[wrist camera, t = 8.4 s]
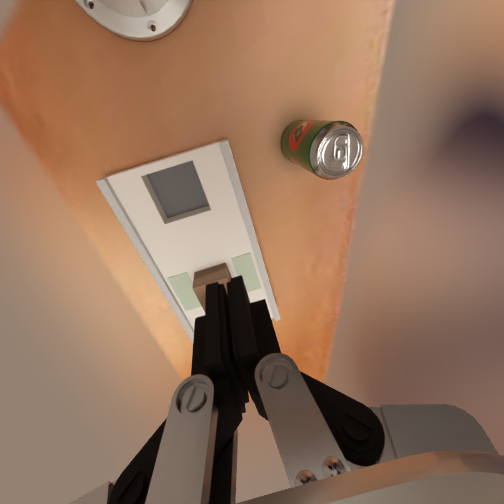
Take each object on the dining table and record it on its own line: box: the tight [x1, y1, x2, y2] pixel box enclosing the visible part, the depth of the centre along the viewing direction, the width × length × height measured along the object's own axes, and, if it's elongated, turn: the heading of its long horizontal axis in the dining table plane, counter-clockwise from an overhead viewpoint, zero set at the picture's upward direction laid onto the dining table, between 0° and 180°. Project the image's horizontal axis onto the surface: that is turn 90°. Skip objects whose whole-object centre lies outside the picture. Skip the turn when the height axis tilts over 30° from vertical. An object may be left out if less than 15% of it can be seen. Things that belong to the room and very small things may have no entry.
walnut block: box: [192, 262, 232, 312], centre depth 36 cm, size 5×5×4 cm
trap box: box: [96, 138, 280, 342], centre depth 36 cm, size 30×16×3 cm, turn 15°
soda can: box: [281, 120, 363, 180], centre depth 26 cm, size 5×5×12 cm
